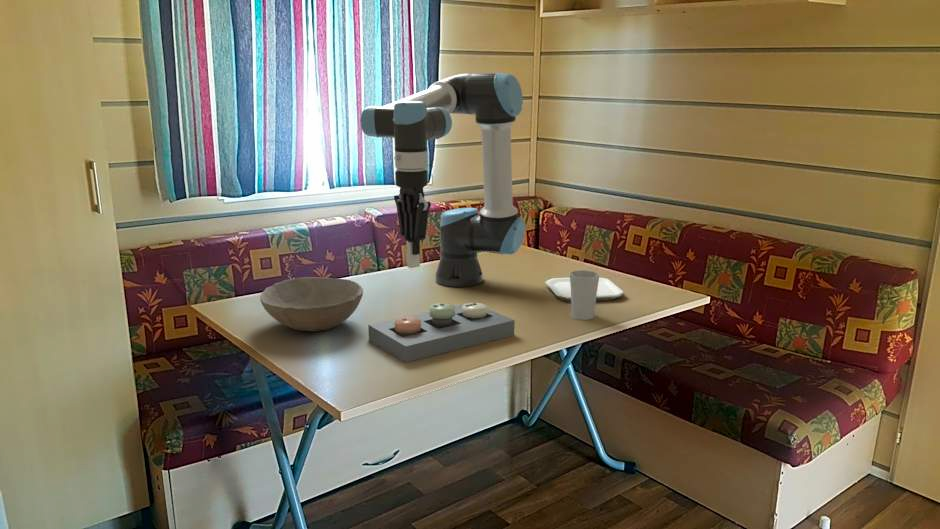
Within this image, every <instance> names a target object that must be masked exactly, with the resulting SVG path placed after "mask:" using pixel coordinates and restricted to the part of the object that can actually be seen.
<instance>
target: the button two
mask: <svg viewBox="0 0 940 529" xmlns="http://www.w3.org/2000/svg"><path fill="white" fill-rule="evenodd" d="M455 306H456V305H454V304H451V303H446V302H442V303H441V302H440V303H439V302H438V303H433V304H431V305H430V306H429V308H428V309H429V310H428V312H429V315H430V317H432V326H433V327H435V328H438V329H440V328H445V327H449V326H452V317H454V316H455Z"/></svg>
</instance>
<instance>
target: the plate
mask: <svg viewBox="0 0 940 529" xmlns="http://www.w3.org/2000/svg"><path fill="white" fill-rule="evenodd" d="M544 283H545V285H546V286H547V287H548V288H549V290H550V291H552V292H553V294H554V295H555V296H556V298H559V299H560V300H563V301H568V302H571V285H570V277H556V278H555V277H554V278H550V279H548V280H546V281H545V282H544ZM623 295H625V292H624V290H623V289H621V288H620V287H618V286H617V285H616V284H615V283H614V282H612V280H610V279H609V278H606V277H600V276H599V282H598V288H597V296H596V302H598V301H599V302H600V301H612V300H615V299H617V298H619V297H621V296H623Z"/></svg>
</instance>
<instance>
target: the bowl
mask: <svg viewBox="0 0 940 529" xmlns="http://www.w3.org/2000/svg"><path fill="white" fill-rule="evenodd" d="M363 295H364V288H363V287H362V285H360V284H359V283H358V282H356V281H353V280H350V279H344V278H331V277H319V276H318V277H314V276H305V277H295V278H290V279H285V280H282V281H280V282H276V283H274V284H273V285H271V286H268V287H266V288H265V289H264V290H263V291H262V292H261V294H260V297H259V298H260V300H259V301H260V303H261V305H262V307H263V309H264V310H265V311H266V312H267V313H268V314H269V316H271V317H272V318H273V319H274V320H275V321H276V322H278V323H280V324H281V325H283V326H285V327H288V328H290V329H293V330H297V331H299V332H300V331H301V332H305V331H307V332H318V331H319V332H321V331H323V330H324V331H326V330H330V329H332V328H334V327H336V326H338V325H341V324H342V323H344V322H345V321H346V320H348V318H350V316H352V314H354V313H355V311H356V309H357V308H358V307H359V304H360V303H361V300H362V298H363Z"/></svg>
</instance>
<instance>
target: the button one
mask: <svg viewBox="0 0 940 529" xmlns="http://www.w3.org/2000/svg"><path fill="white" fill-rule="evenodd" d="M395 319H396V320H395V331H396V332H398V335H400V336H402V337H406V336H410V335H415V334H418V332H419V331H420V330H421V320H420V319H418V318H414V317H407V316H403V318H402V317H398V319H397V318H395Z"/></svg>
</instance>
